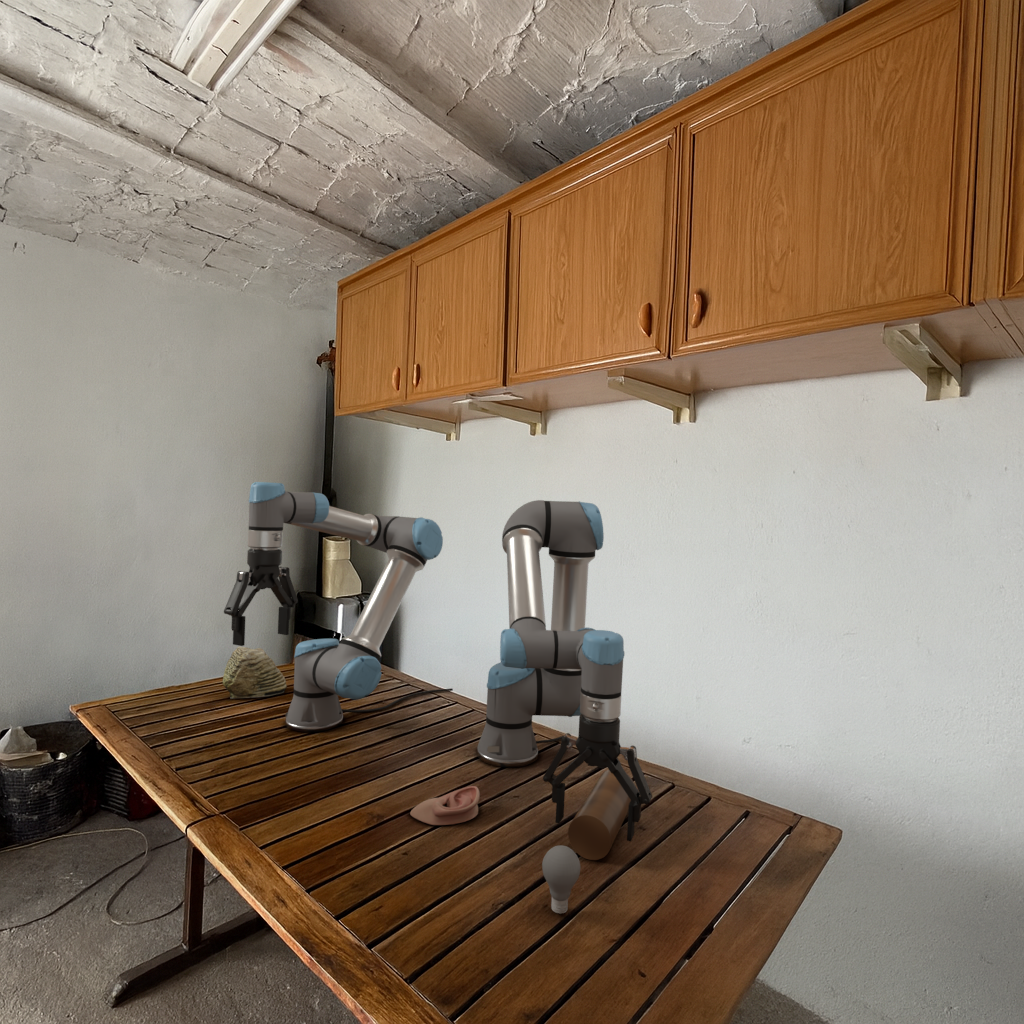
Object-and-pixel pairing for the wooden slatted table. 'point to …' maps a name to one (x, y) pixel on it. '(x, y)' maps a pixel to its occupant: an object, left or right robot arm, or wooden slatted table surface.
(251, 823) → the wooden slatted table surface
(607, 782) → the brown wooden cylinder
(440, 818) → the anatomical model
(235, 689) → the fossil
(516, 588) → the right robot arm
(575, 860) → the light bulb
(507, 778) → the wooden slatted table surface
